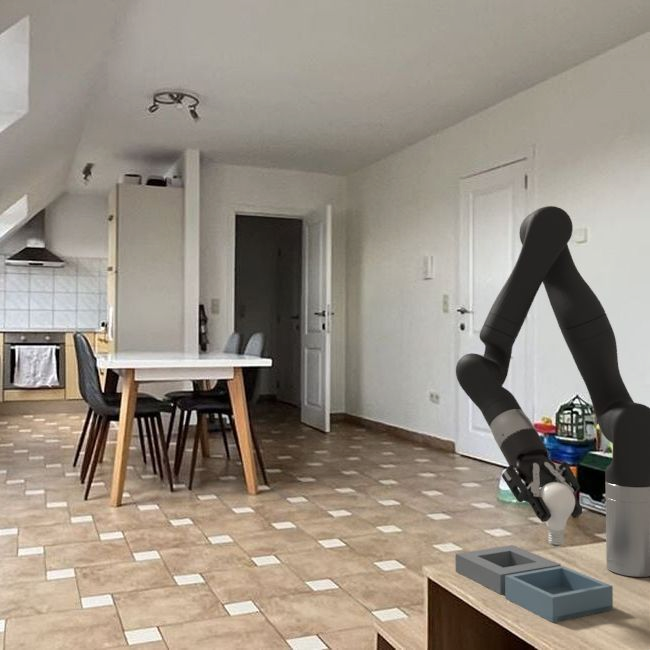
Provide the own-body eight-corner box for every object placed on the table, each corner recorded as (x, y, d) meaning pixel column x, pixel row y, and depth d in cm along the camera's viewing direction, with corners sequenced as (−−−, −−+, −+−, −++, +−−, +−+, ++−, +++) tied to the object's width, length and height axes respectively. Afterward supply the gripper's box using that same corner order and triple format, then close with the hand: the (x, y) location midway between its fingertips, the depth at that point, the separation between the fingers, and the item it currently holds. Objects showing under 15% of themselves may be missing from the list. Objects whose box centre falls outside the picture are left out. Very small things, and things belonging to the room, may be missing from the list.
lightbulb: (577, 552, 121) (577, 487, 121) (538, 550, 122) (538, 485, 122) (572, 541, 127) (572, 479, 127) (535, 539, 128) (535, 478, 129)
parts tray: (562, 587, 132) (562, 565, 133) (612, 609, 122) (612, 586, 122) (505, 598, 127) (505, 575, 127) (552, 622, 116) (552, 597, 116)
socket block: (512, 562, 148) (512, 545, 148) (560, 583, 135) (560, 564, 135) (455, 571, 142) (455, 553, 142) (500, 594, 129) (500, 574, 129)
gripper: (495, 428, 129) (540, 509, 118) (557, 425, 135) (606, 501, 124) (477, 453, 134) (519, 533, 123) (538, 449, 139) (583, 525, 128)
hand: (562, 517), depth 123 cm, fingers closed on lightbulb, 6 cm apart
